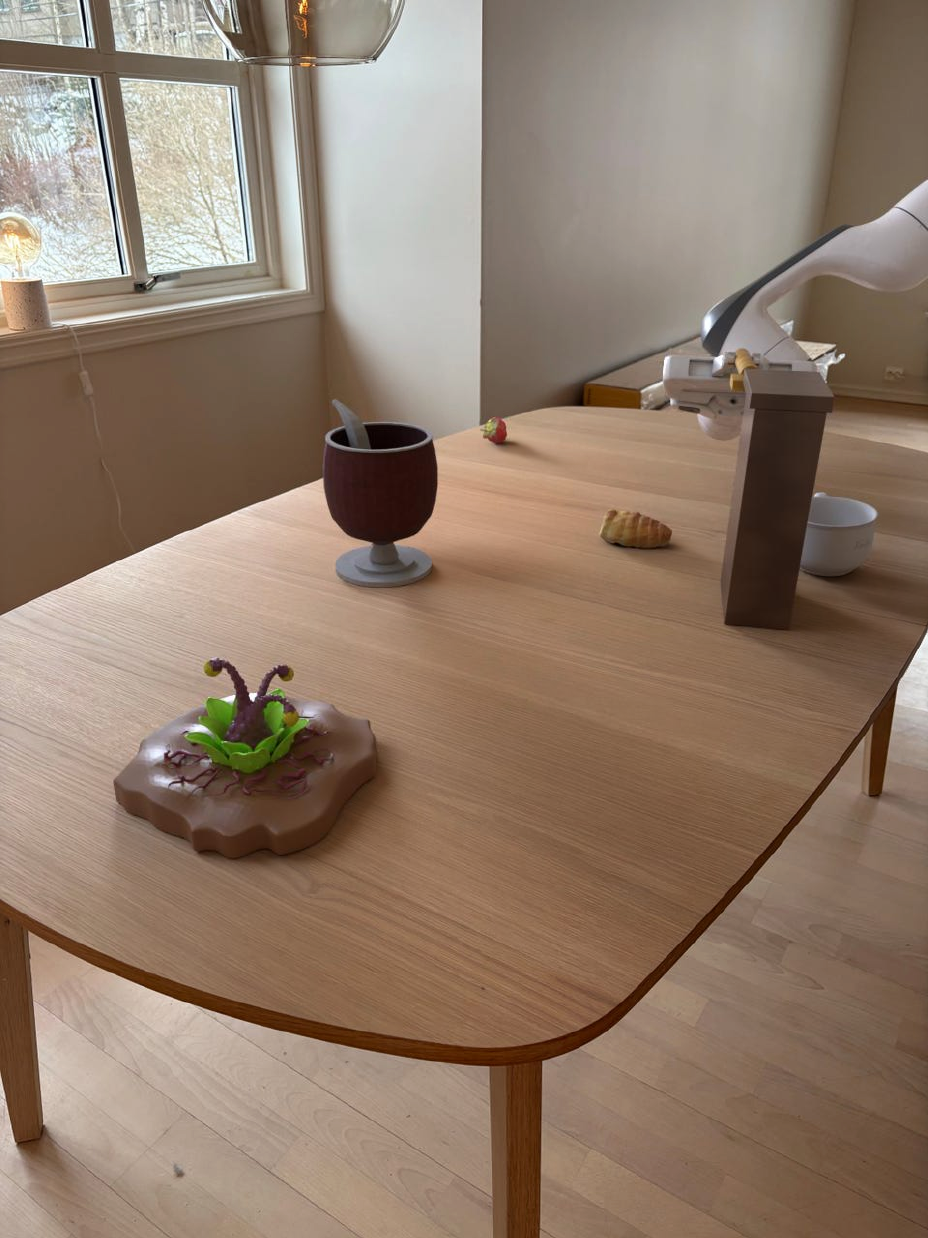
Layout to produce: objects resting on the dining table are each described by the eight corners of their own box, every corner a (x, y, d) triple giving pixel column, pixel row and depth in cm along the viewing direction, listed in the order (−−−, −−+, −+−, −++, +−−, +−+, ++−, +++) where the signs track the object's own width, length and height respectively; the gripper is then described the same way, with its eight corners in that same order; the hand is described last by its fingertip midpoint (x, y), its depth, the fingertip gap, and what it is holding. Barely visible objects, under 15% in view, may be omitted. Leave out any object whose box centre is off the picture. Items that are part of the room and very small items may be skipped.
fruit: (516, 440, 173) (517, 413, 171) (495, 447, 169) (496, 420, 167) (498, 436, 176) (498, 409, 173) (477, 443, 172) (477, 415, 169)
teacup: (866, 590, 115) (879, 528, 112) (773, 577, 119) (783, 516, 115) (865, 549, 127) (877, 492, 124) (781, 538, 130) (790, 482, 127)
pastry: (674, 536, 131) (677, 510, 129) (665, 554, 125) (668, 527, 124) (607, 527, 134) (609, 501, 132) (595, 544, 128) (597, 518, 127)
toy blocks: (757, 365, 128) (759, 348, 127) (771, 392, 108) (774, 372, 107) (723, 364, 129) (725, 347, 128) (731, 390, 109) (733, 370, 108)
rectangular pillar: (783, 586, 116) (819, 371, 105) (793, 630, 106) (835, 396, 94) (716, 581, 118) (744, 368, 106) (719, 624, 107) (751, 392, 95)
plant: (225, 697, 92) (212, 592, 87) (406, 741, 86) (403, 630, 81) (77, 817, 76) (50, 696, 71) (287, 882, 69) (274, 754, 64)
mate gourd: (461, 567, 121) (461, 411, 112) (376, 600, 112) (369, 433, 103) (382, 535, 131) (377, 390, 122) (299, 563, 122) (287, 408, 113)
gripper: (806, 415, 135) (825, 386, 121) (659, 407, 139) (662, 378, 125) (810, 372, 135) (829, 337, 122) (664, 365, 139) (667, 331, 125)
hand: (743, 358), depth 123 cm, fingers closed on toy blocks, 2 cm apart
